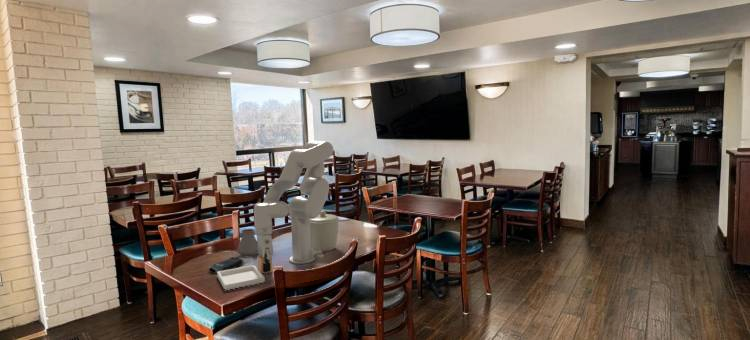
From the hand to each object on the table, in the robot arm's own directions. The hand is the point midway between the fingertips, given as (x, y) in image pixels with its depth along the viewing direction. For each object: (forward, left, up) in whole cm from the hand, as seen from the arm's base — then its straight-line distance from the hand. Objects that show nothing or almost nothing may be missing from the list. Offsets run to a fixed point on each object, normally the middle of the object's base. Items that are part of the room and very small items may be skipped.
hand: (265, 269), depth 184 cm
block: (0, 0, -1) cm, 1 cm away
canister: (-36, -17, -1) cm, 40 cm away
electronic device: (+15, -15, -2) cm, 21 cm away
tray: (+12, +5, -1) cm, 13 cm away
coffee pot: (-4, -31, -1) cm, 31 cm away
